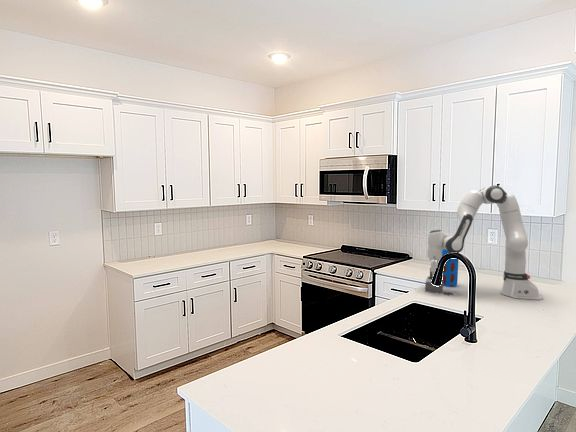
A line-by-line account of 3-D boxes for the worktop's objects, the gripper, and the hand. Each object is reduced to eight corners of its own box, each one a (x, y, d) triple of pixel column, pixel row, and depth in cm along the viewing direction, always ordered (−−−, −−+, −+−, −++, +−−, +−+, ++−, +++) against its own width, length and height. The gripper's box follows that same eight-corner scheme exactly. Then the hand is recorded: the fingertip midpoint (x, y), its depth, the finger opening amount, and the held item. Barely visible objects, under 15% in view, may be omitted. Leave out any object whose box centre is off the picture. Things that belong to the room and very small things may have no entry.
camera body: (442, 289, 255) (443, 277, 254) (441, 293, 247) (442, 280, 246) (426, 288, 259) (426, 276, 259) (425, 291, 251) (425, 278, 250)
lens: (438, 280, 254) (438, 267, 253) (437, 281, 249) (438, 269, 249) (429, 279, 256) (430, 267, 255) (429, 281, 251) (429, 268, 251)
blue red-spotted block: (459, 287, 262) (461, 250, 260) (443, 287, 263) (445, 250, 261) (453, 283, 273) (454, 247, 271) (437, 283, 273) (439, 247, 271)
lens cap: (453, 294, 246) (453, 293, 246) (453, 296, 241) (453, 295, 241) (444, 293, 248) (444, 292, 248) (443, 295, 243) (443, 294, 243)
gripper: (439, 258, 241) (438, 280, 242) (440, 253, 260) (439, 273, 261) (428, 257, 243) (427, 279, 244) (430, 252, 262) (429, 272, 263)
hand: (433, 276), depth 252 cm, fingers closed on lens, 5 cm apart
